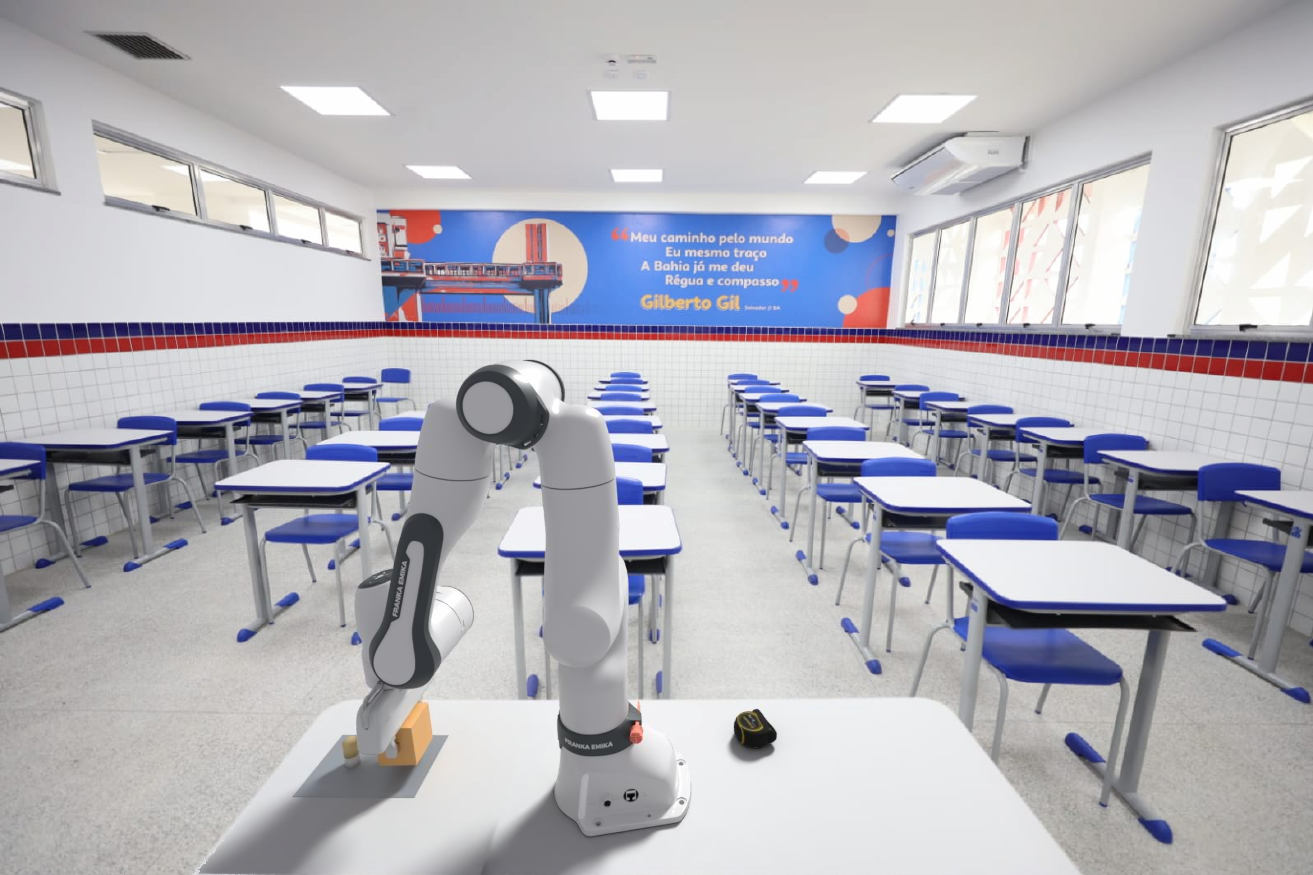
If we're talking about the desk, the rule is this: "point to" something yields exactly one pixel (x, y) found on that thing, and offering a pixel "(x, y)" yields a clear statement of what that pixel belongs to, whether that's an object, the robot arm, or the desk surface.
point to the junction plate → (367, 773)
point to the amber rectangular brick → (411, 738)
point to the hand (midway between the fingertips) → (405, 737)
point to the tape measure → (754, 729)
